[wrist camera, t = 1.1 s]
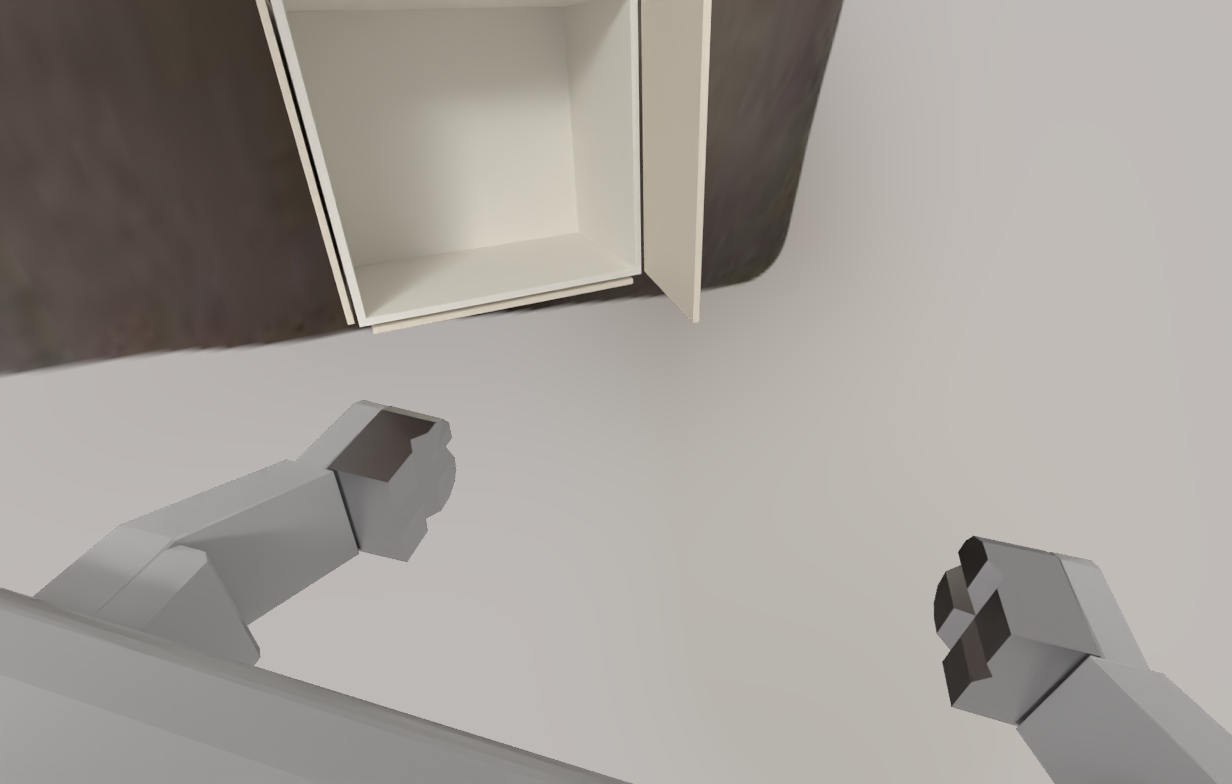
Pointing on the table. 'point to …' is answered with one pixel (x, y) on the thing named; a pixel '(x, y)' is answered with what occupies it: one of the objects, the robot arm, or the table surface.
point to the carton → (465, 148)
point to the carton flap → (675, 144)
